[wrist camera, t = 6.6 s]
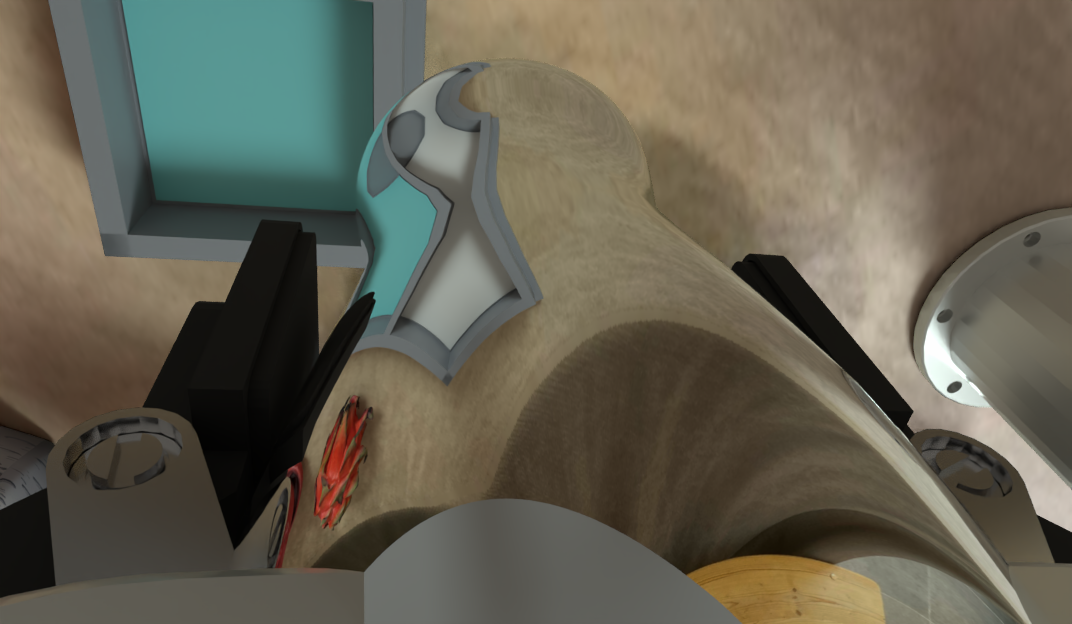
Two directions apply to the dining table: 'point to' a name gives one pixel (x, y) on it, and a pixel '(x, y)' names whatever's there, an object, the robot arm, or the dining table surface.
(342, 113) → the gray divided sorting tray
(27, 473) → the juice carton
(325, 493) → the silver metal cup
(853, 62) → the dining table surface
